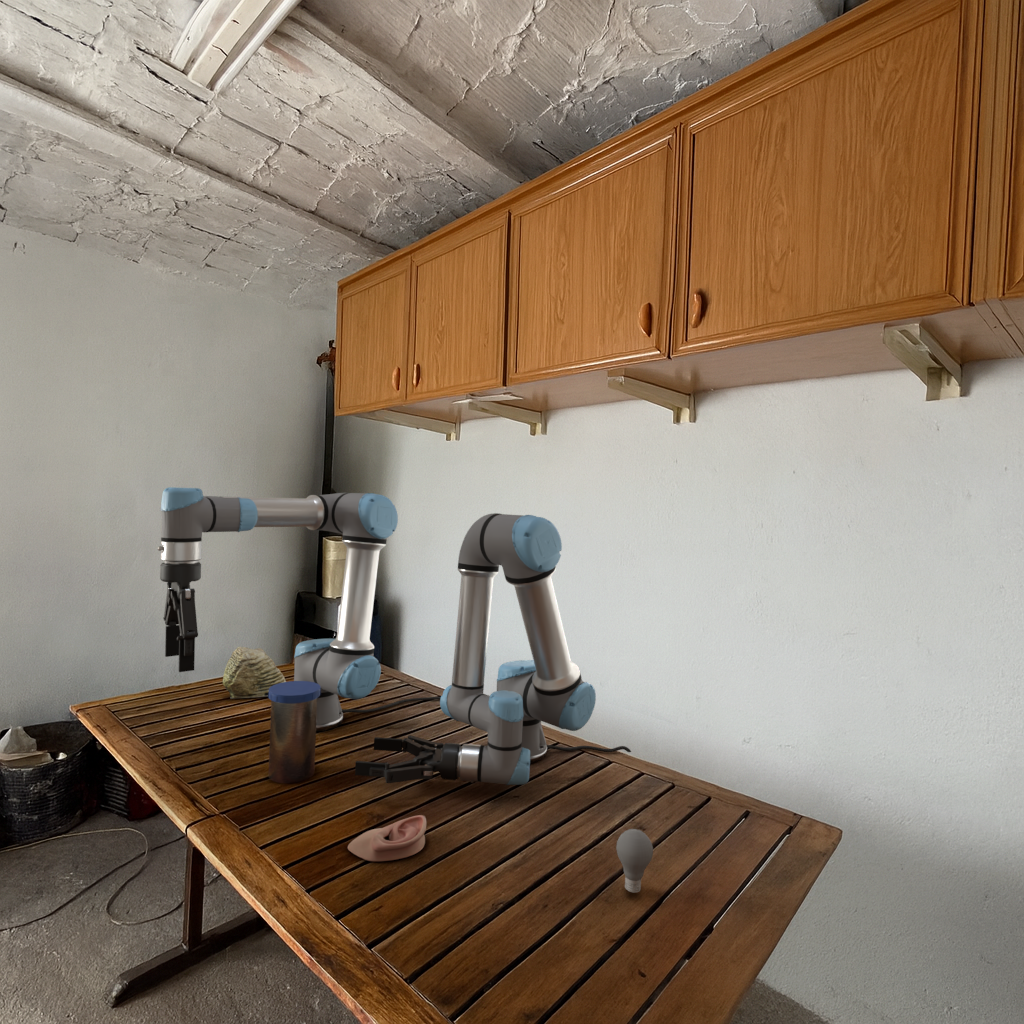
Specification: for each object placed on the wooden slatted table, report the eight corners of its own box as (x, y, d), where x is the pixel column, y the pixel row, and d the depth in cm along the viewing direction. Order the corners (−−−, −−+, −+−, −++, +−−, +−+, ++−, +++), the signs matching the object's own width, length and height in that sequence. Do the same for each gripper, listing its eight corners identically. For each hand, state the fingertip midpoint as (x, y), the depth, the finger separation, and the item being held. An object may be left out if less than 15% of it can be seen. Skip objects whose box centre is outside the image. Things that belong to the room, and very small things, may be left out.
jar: (260, 773, 143) (263, 689, 143) (298, 760, 151) (301, 680, 151) (283, 787, 137) (287, 699, 137) (323, 773, 145) (326, 690, 144)
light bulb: (610, 879, 108) (613, 822, 108) (644, 879, 109) (647, 822, 109) (619, 902, 102) (622, 840, 102) (655, 901, 103) (658, 840, 103)
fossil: (218, 695, 195) (220, 647, 195) (278, 685, 208) (279, 640, 207) (228, 703, 189) (230, 653, 188) (289, 692, 201) (290, 645, 201)
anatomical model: (340, 834, 112) (368, 804, 123) (339, 856, 112) (367, 824, 123) (411, 845, 109) (433, 813, 120) (410, 868, 109) (432, 834, 120)
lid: (258, 695, 143) (258, 687, 143) (302, 685, 152) (302, 677, 152) (285, 707, 136) (285, 698, 136) (330, 695, 145) (330, 688, 145)
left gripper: (149, 556, 139) (148, 652, 140) (173, 569, 119) (171, 681, 120) (187, 555, 144) (185, 647, 144) (216, 567, 124) (213, 674, 125)
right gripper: (449, 806, 127) (346, 797, 129) (467, 756, 152) (380, 749, 153) (451, 769, 127) (347, 761, 128) (468, 725, 152) (381, 719, 153)
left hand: (179, 663), depth 132 cm, fingers open, 13 cm apart
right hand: (365, 755), depth 141 cm, fingers open, 13 cm apart
